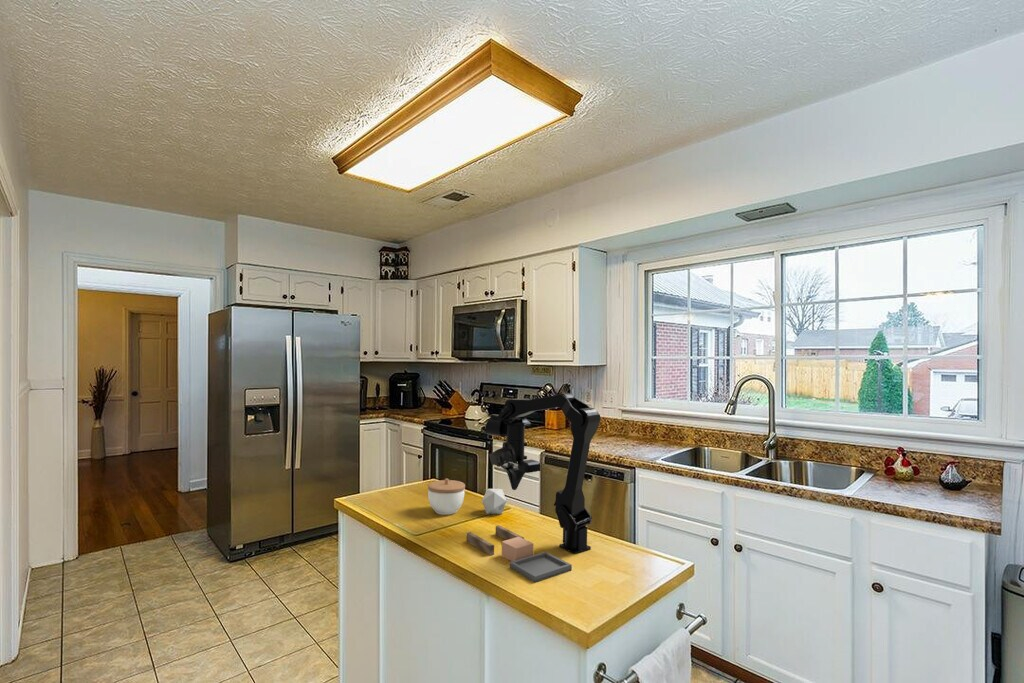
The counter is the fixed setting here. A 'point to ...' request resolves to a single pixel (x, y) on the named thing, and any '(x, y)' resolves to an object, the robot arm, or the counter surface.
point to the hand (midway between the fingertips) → (514, 489)
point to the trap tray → (540, 566)
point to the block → (517, 548)
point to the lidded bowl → (446, 496)
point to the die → (494, 501)
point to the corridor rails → (487, 546)
